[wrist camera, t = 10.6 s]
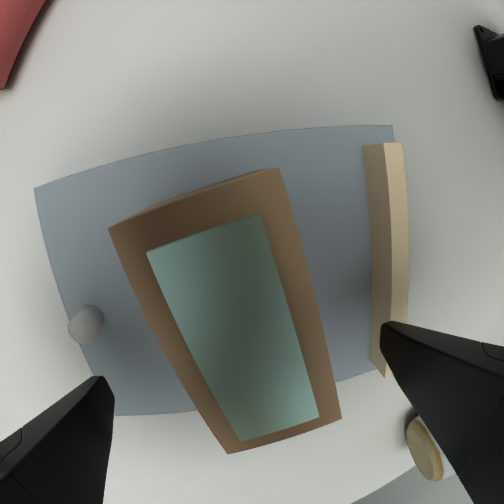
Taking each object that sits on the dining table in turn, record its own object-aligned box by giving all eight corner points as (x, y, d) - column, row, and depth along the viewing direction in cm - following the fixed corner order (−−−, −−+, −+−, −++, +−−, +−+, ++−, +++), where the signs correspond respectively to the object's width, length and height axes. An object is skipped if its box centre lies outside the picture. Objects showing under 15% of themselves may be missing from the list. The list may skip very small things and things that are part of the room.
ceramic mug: (399, 409, 20) (444, 472, 12) (471, 360, 20) (522, 406, 12) (401, 459, 23) (430, 507, 15) (460, 420, 23) (494, 461, 16)
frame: (254, 170, 13) (281, 167, 8) (309, 356, 15) (343, 422, 10) (146, 208, 12) (104, 230, 7) (222, 384, 15) (228, 458, 10)
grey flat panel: (380, 127, 14) (415, 120, 11) (387, 352, 18) (411, 379, 14) (45, 187, 12) (10, 192, 9) (119, 403, 16) (108, 437, 13)
